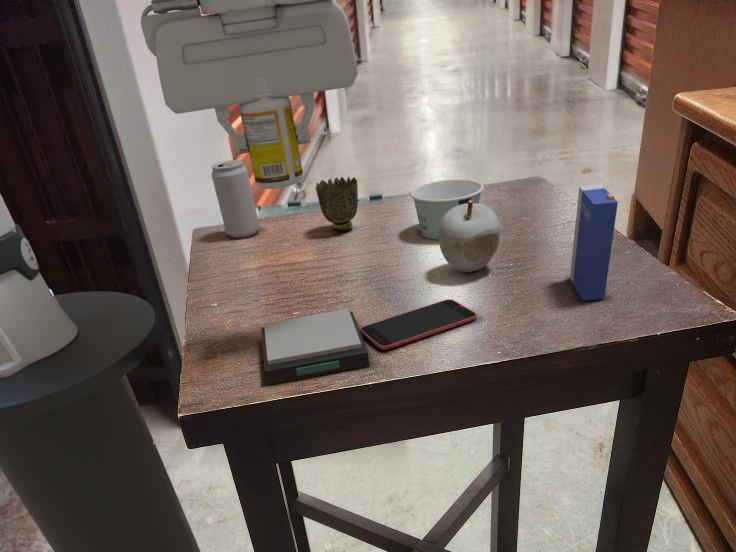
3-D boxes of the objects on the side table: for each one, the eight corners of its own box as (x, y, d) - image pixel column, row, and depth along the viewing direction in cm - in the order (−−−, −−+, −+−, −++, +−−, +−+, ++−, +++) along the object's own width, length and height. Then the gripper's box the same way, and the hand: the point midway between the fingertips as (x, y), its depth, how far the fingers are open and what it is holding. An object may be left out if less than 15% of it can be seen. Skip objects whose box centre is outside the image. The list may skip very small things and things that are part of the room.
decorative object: (471, 255, 94) (471, 185, 88) (512, 268, 89) (515, 194, 82) (427, 272, 91) (423, 200, 85) (466, 287, 85) (465, 212, 79)
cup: (361, 234, 108) (355, 185, 102) (320, 238, 109) (312, 190, 103) (364, 221, 113) (358, 174, 108) (325, 225, 114) (318, 178, 109)
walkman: (604, 299, 78) (618, 198, 70) (582, 301, 78) (593, 200, 70) (590, 276, 84) (602, 180, 76) (569, 277, 84) (579, 182, 76)
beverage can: (232, 229, 119) (215, 160, 111) (264, 226, 118) (249, 157, 110) (223, 240, 114) (204, 169, 106) (256, 237, 113) (239, 166, 105)
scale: (268, 385, 70) (263, 367, 69) (264, 340, 80) (259, 323, 78) (369, 366, 71) (367, 348, 70) (354, 324, 80) (351, 306, 79)
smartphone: (480, 314, 77) (382, 348, 73) (480, 319, 77) (382, 352, 73) (450, 297, 82) (356, 327, 78) (450, 301, 82) (357, 332, 78)
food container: (401, 229, 107) (398, 189, 103) (461, 214, 110) (461, 174, 106) (432, 248, 99) (430, 204, 94) (497, 231, 101) (497, 188, 97)
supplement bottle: (289, 174, 73) (270, 71, 66) (313, 180, 69) (295, 72, 63) (247, 186, 71) (224, 80, 64) (270, 193, 67) (247, 82, 61)
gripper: (130, 1, 56) (178, 169, 65) (350, -30, 57) (367, 138, 66) (137, 1, 60) (181, 157, 69) (340, -28, 62) (357, 128, 71)
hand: (273, 148), depth 68 cm, fingers closed on supplement bottle, 5 cm apart
